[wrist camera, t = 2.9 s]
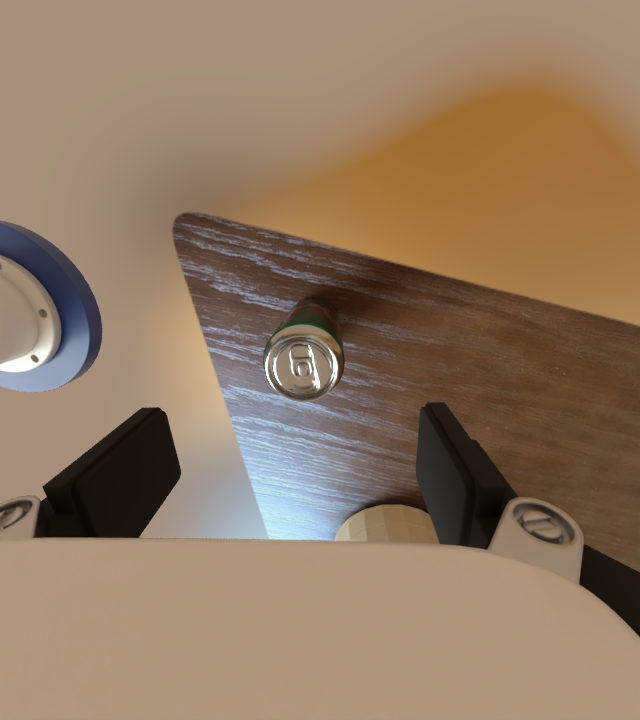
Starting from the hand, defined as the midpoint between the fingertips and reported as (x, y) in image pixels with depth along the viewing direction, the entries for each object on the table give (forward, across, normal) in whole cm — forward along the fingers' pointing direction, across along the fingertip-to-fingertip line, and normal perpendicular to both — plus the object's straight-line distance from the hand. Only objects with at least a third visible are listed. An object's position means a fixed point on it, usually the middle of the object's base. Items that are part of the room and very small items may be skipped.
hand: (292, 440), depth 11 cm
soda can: (+19, +1, 0) cm, 19 cm away
